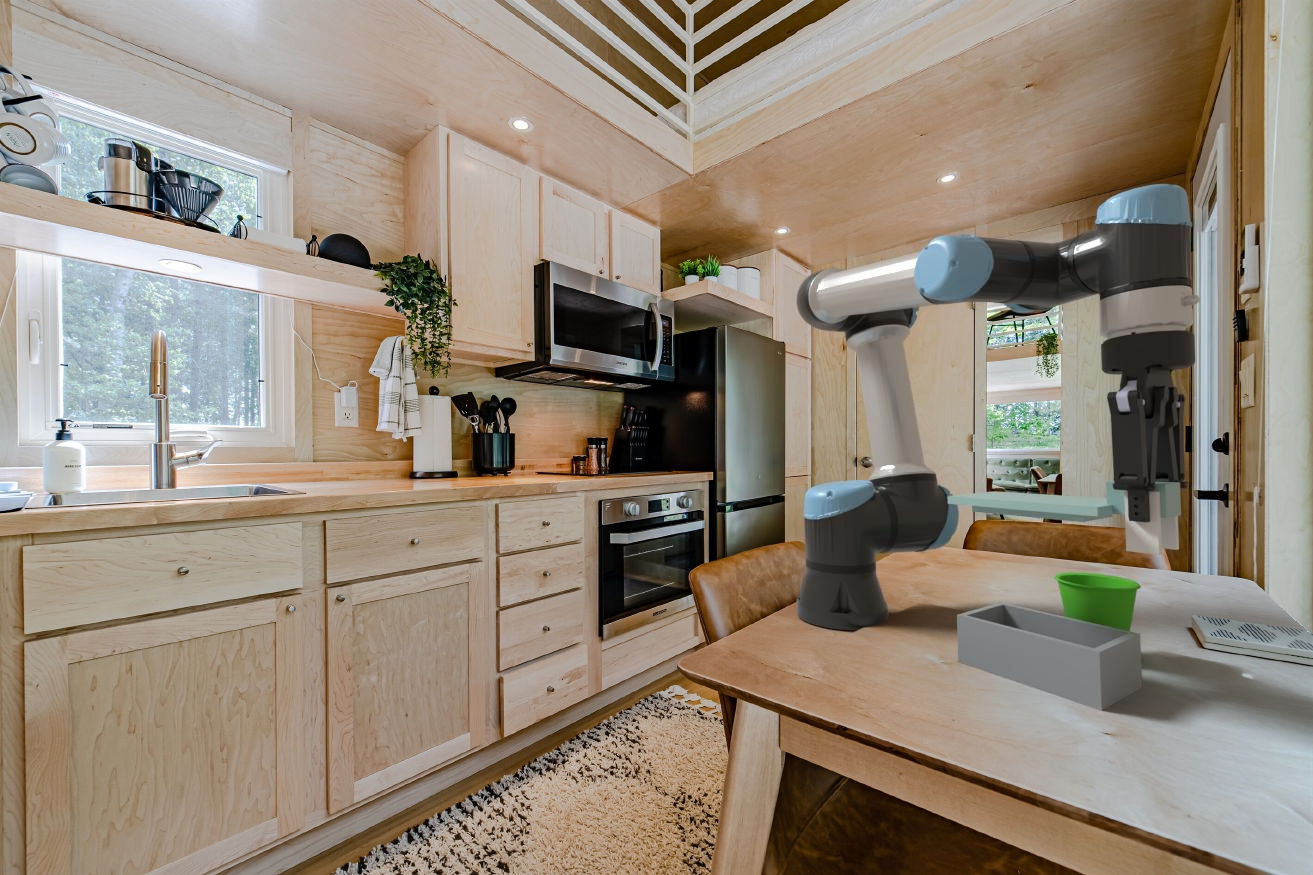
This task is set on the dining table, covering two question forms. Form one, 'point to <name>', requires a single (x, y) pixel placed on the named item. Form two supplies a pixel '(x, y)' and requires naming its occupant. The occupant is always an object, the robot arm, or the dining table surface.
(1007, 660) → the tub
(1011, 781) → the dining table surface
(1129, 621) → the cup
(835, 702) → the dining table surface
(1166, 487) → the lid
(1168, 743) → the dining table surface
